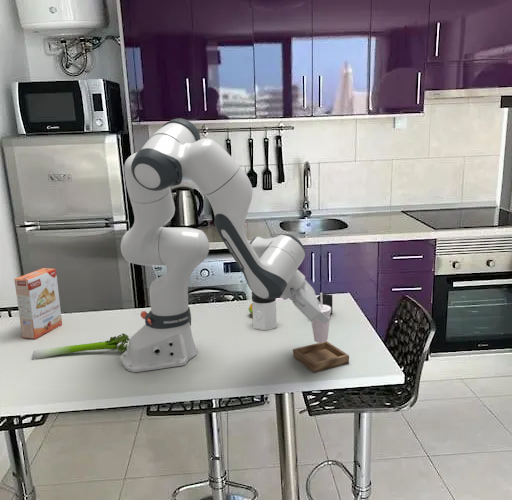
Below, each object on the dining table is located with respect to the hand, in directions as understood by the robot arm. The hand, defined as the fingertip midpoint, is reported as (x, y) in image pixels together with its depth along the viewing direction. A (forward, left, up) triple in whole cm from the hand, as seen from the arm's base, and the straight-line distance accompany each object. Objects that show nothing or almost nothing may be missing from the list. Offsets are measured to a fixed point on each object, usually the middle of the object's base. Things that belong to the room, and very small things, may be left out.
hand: (325, 316), depth 150 cm
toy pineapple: (0, +44, -14) cm, 46 cm away
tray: (-1, +1, -14) cm, 14 cm away
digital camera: (+18, +31, -14) cm, 38 cm away
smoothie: (-1, +1, -7) cm, 8 cm away
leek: (-62, +41, -14) cm, 75 cm away
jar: (-3, +33, -14) cm, 36 cm away
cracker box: (-71, +68, -14) cm, 99 cm away
